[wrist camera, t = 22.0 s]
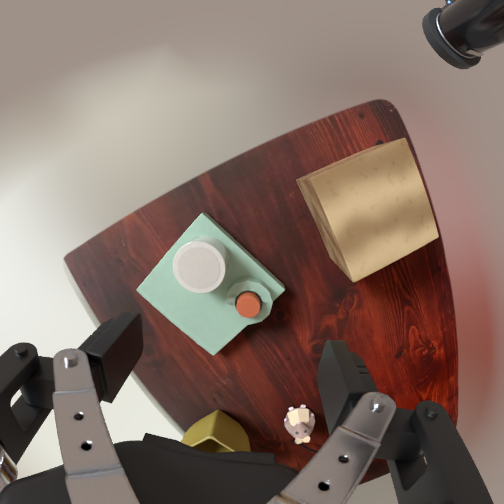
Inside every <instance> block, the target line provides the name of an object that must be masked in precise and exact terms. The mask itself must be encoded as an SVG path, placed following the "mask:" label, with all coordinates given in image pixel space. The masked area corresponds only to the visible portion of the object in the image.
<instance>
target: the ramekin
mask: <svg viewBox="0 0 504 504" xmlns="http://www.w3.org/2000/svg"><path fill="white" fill-rule="evenodd" d="M228 265H229V255H228V251H227V249H226V247H225V246H224V244H223V243H222V242H221V241H219V240H218V239H216V238H214V237H212V236H208V235H200V236H196V237H194V238H192V239H191V240H189V241H188V242H187V243H186V244H184V245H183V246H182V247H181V248H180V249H179V250H178V251H177V253H176V254H175V257H174V260H173V272H174V275H175V277H176V279H177V281H178V282H179V284H180V285H181V286H182V287H184V288H185V289H187V290H188V291H191V292H194V293H208V292H211V291H213V290H215V289H216V288H217V287H218V286H219V285H220V284H221V283H222V281H223V279H224V277H225V274H226V271H227V269H228Z"/></svg>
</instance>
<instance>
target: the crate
mask: <svg viewBox="0 0 504 504" xmlns="http://www.w3.org/2000/svg"><path fill="white" fill-rule="evenodd" d="M296 181H297V184H298V186H299V188H300V190H301V192H302V194H303V196H304V199H305V201H306V203H307V205H308V207H309V210H310V212H311V214H312V216H313V219H314V221H315V223H316V225H317V228H318V230H319V232H320V235H321V237H322V239H323V242H324V244H325V246H326V249H327V251H328V253H329V256H330V258H331V259H332V260H333V261H334V262H335V263H336V264H337V265H338V266H339V268H340V269H341V270H342V271H343V272H344V273H345V274H346V275H347V276H348V277H349V278H350V279H351V281H352V282H353V283H354V282H356V281H358V280H360V279H362V278H364V277H366V276H368V275H370V274H372V273H374V272H376V271H378V270H380V269H382V268H383V267H385V266H387V265H389V264H391V263H393V262H395V261H397V260H399V259H400V258H402V257H404V256H406V255H408V254H410V253H411V252H413V251H415V250H417V249H419V248H420V247H422V246H424V245H426V244H427V243H429V242H431V241H433V240H434V239H436V238H438V237H439V235H438V232H437V228H436V224H435V221H434V217H433V214H432V210H431V207H430V204H429V200H428V197H427V194H426V191H425V188H424V185H423V182H422V179H421V177H420V174H419V171H418V168H417V166H416V163H415V161H414V158H413V155H412V153H411V150H410V148H409V146H408V143H407V141H406V139H405V138H402V139H398V140H395V141H391V142H388V143H384V144H381V145H377V146H374V147H371V148H368V149H366V150H363V151H361V152H358V153H356V154H354V155H351V156H349V157H347V158H344V159H342V160H340V161H337V162H335V163H333V164H330V165H328V166H326V167H324V168H321V169H319V170H317V171H315V172H312V173H310V174H308V175H306V176H304V177H301V178H299V179H297V180H296Z"/></svg>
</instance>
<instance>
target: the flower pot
mask: <svg viewBox="0 0 504 504" xmlns="http://www.w3.org/2000/svg"><path fill="white" fill-rule="evenodd" d="M181 443H184V444H186V445H189V446H191V447H194V448H196V449H199V450H201V451H204V452H208V453H216V452H234V451H249V452H251V451H250V443H249V439H248V436H247V434H246V432H245V431H244V429H243V428H242V427H241V425H240V424H239V423H238V422H236V421H235V420H233V419H232V418H230V417H229V416H228V415H226V414H225V413H224V412H222V411H221V410H216V411H214V412H213V413H211V414H209V415H208V416H206V417H204V418H202V419H201V420H199V421H198V422H196V423H195V424H194V425H193V426H192V427H190V428H189V430H188V431H187V432H186V433H185V435H184V437H183V439H182V441H181Z"/></svg>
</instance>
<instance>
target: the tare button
mask: <svg viewBox="0 0 504 504" xmlns="http://www.w3.org/2000/svg"><path fill="white" fill-rule="evenodd" d="M236 308H237V311H238V313H239V314H240V315H241V316H243V317H245V318H252V317H254V316H256V315H257V314H258V313H259V311H260V299H259V297H258V296H257V295H256V294H255V293H252V292H245V293H243V294H241V295H240V296H239V298H238V300H237V306H236Z"/></svg>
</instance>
